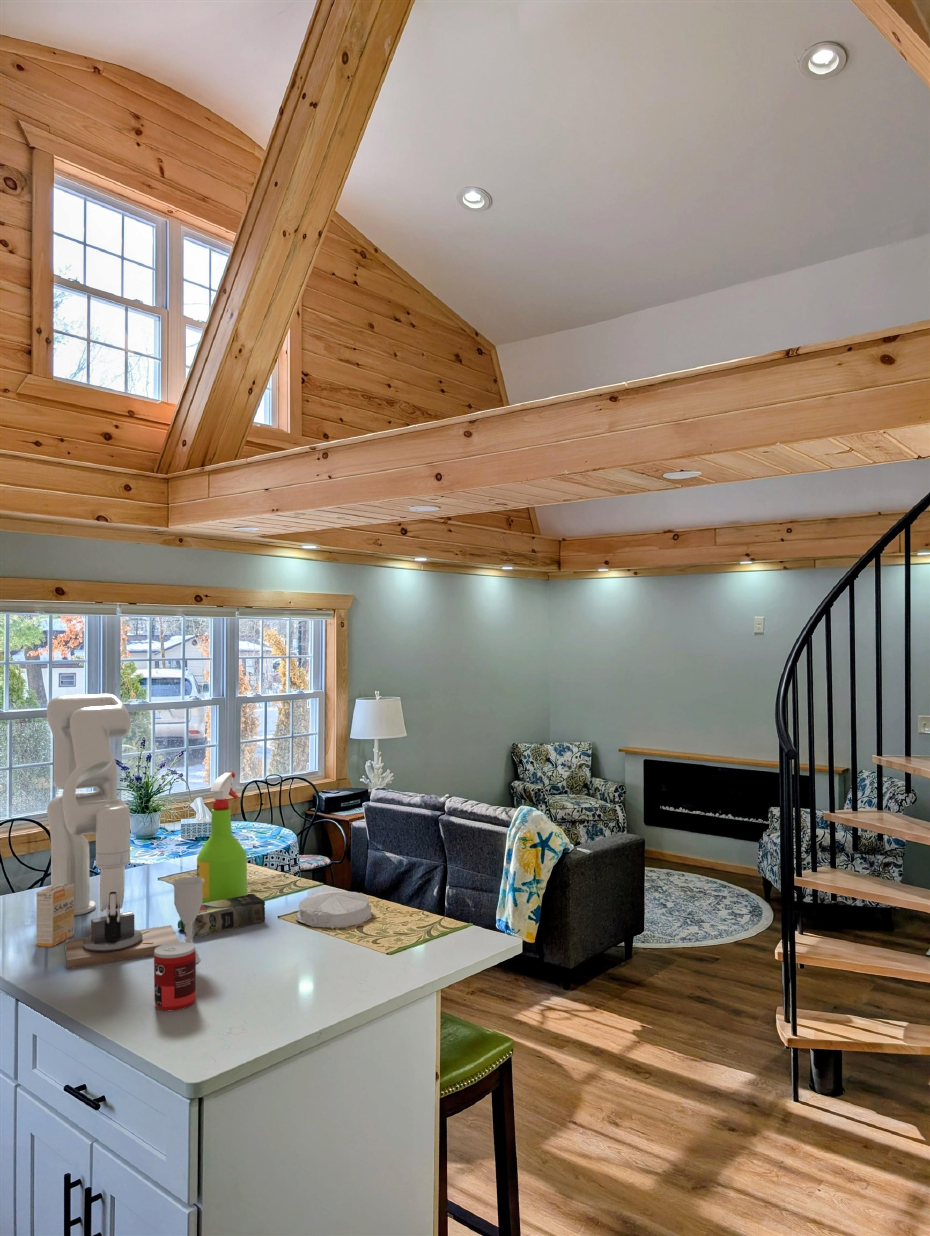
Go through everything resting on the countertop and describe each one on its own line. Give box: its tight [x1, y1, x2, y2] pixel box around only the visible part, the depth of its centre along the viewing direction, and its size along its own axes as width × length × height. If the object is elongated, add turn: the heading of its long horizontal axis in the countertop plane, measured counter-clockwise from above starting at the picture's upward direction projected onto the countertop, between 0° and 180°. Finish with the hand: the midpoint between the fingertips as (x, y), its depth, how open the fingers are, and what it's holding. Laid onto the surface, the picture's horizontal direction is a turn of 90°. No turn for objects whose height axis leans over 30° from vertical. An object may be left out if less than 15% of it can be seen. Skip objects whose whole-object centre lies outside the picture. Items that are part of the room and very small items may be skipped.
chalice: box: [171, 876, 204, 964], centre depth 197 cm, size 7×7×18 cm
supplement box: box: [35, 883, 75, 948], centre depth 212 cm, size 8×5×13 cm, turn 168°
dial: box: [83, 911, 142, 952], centre depth 204 cm, size 13×13×6 cm
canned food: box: [153, 941, 197, 1011], centre depth 174 cm, size 8×8×11 cm
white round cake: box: [295, 890, 373, 929], centre depth 228 cm, size 20×20×7 cm
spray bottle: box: [196, 770, 248, 904], centre depth 247 cm, size 14×18×35 cm
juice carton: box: [177, 893, 266, 938], centre depth 222 cm, size 20×10×6 cm, turn 126°
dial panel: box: [65, 924, 180, 970], centre depth 205 cm, size 14×24×2 cm, turn 116°
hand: (113, 935), depth 204 cm, fingers closed on dial, 3 cm apart
